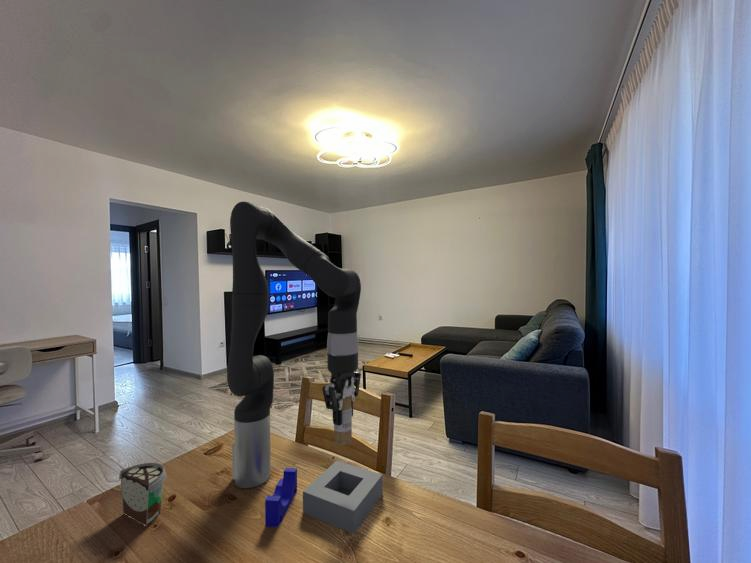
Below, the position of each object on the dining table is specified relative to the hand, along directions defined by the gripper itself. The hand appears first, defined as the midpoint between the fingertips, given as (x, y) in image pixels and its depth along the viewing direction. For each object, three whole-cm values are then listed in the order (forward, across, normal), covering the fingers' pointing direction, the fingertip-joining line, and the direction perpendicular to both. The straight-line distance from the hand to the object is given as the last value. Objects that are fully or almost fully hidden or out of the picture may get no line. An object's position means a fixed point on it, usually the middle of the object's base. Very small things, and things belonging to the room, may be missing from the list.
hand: (343, 419), depth 76 cm
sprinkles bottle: (+5, 0, 0) cm, 5 cm away
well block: (+20, 0, 0) cm, 20 cm away
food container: (+20, +23, -40) cm, 50 cm away
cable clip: (+21, +8, -13) cm, 26 cm away
